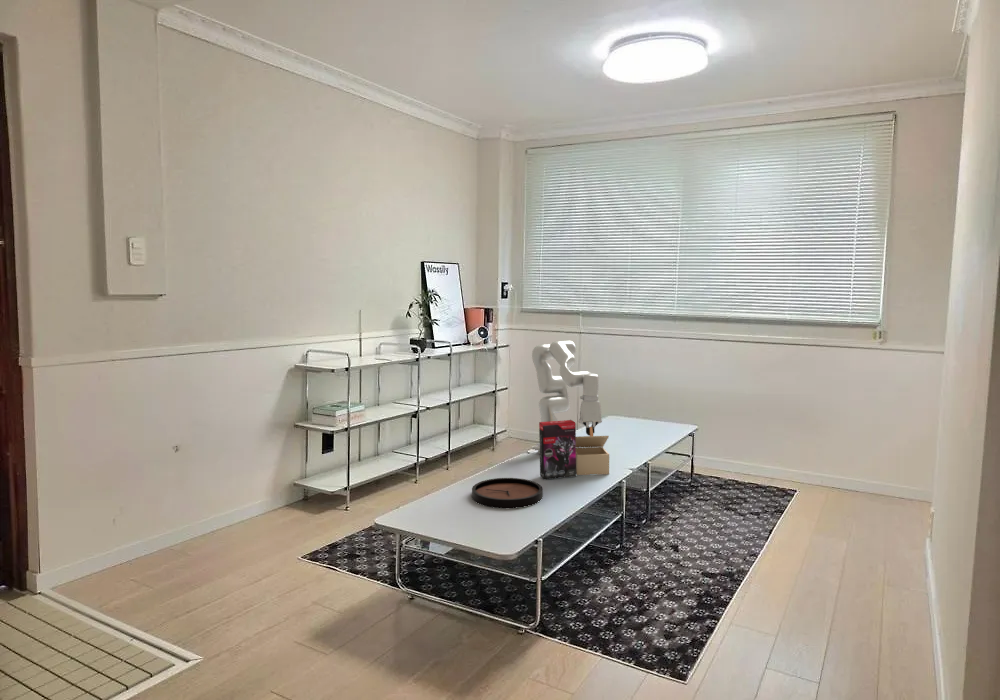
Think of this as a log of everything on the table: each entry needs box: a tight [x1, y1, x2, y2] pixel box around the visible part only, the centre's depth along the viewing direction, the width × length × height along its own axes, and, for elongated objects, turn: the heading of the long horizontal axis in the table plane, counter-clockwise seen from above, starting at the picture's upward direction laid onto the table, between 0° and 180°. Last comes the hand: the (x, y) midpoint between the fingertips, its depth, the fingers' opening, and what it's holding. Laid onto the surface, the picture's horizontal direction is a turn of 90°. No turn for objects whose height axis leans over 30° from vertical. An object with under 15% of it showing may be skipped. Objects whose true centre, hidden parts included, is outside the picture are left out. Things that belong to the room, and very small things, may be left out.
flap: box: [576, 426, 609, 448], centre depth 340 cm, size 16×14×6 cm
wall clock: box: [471, 477, 544, 509], centre depth 300 cm, size 31×4×31 cm
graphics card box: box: [538, 419, 577, 481], centre depth 327 cm, size 17×7×27 cm, turn 105°
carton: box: [576, 446, 610, 476], centre depth 338 cm, size 16×14×10 cm
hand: (590, 434), depth 337 cm, fingers closed
